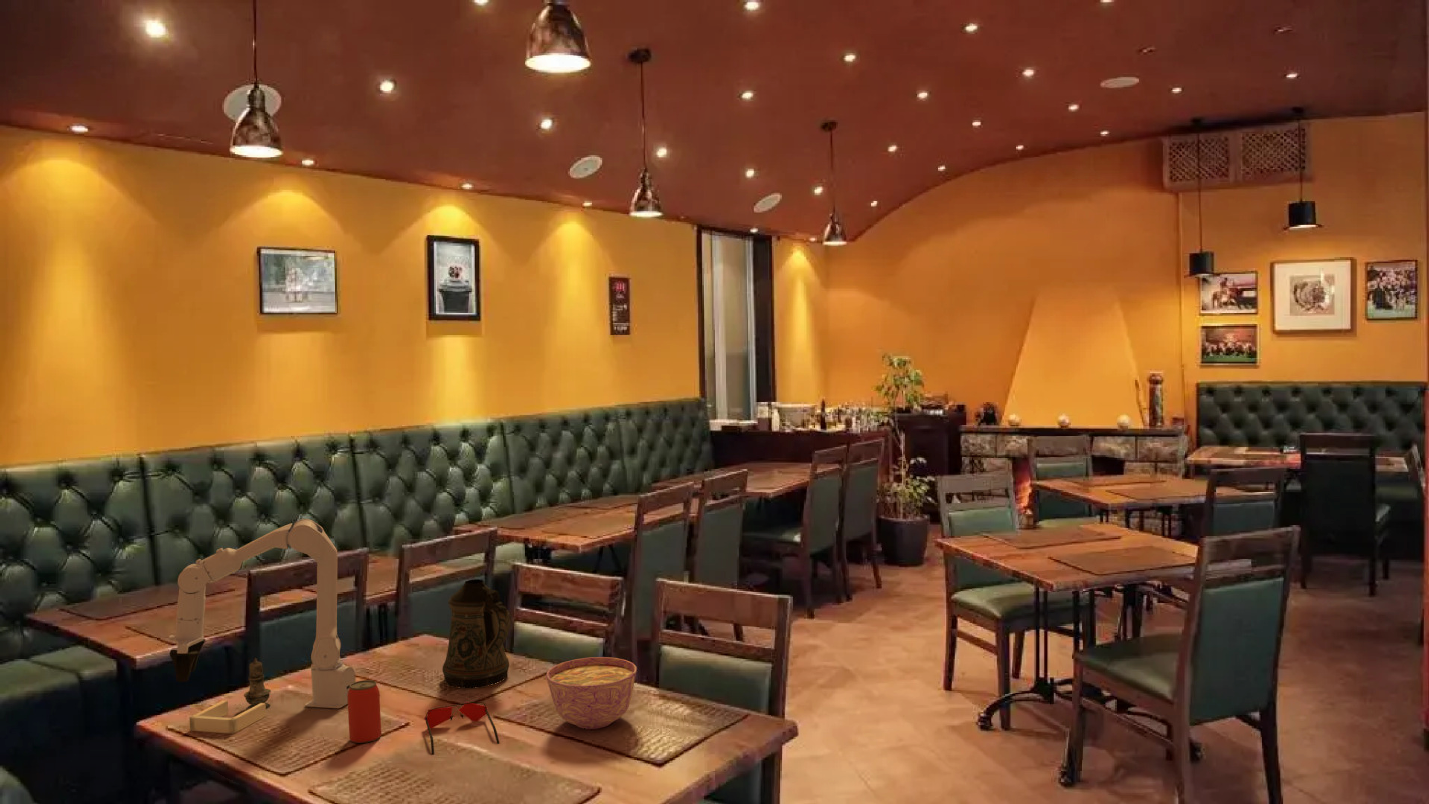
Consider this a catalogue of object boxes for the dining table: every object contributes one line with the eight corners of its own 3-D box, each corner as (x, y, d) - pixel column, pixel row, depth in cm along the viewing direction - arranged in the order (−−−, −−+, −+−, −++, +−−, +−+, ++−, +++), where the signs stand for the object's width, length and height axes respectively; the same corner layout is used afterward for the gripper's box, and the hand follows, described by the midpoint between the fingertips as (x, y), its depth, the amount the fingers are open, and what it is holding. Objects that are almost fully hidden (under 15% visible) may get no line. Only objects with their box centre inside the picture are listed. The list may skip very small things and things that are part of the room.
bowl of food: (657, 719, 227) (655, 668, 226) (588, 747, 212) (585, 692, 212) (598, 699, 240) (596, 651, 240) (529, 724, 226) (527, 673, 225)
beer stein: (458, 667, 268) (453, 573, 267) (529, 668, 266) (525, 573, 264) (432, 688, 252) (427, 588, 251) (507, 690, 249) (503, 589, 248)
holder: (266, 715, 236) (265, 703, 236) (233, 733, 226) (233, 720, 226) (224, 713, 239) (223, 700, 239) (190, 730, 229) (189, 717, 228)
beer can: (352, 746, 216) (349, 691, 216) (347, 736, 222) (344, 682, 221) (384, 740, 219) (381, 685, 219) (378, 730, 225) (376, 677, 225)
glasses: (487, 719, 231) (486, 697, 231) (499, 745, 216) (498, 722, 215) (424, 729, 226) (423, 707, 226) (431, 757, 211) (430, 733, 210)
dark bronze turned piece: (261, 712, 239) (258, 662, 238) (239, 711, 240) (236, 661, 239) (276, 703, 244) (274, 654, 244) (255, 702, 246) (252, 653, 245)
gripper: (177, 609, 240) (172, 666, 240) (164, 625, 226) (159, 685, 226) (210, 610, 242) (205, 666, 242) (199, 625, 228) (194, 685, 228)
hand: (185, 676), depth 234 cm, fingers open, 7 cm apart
